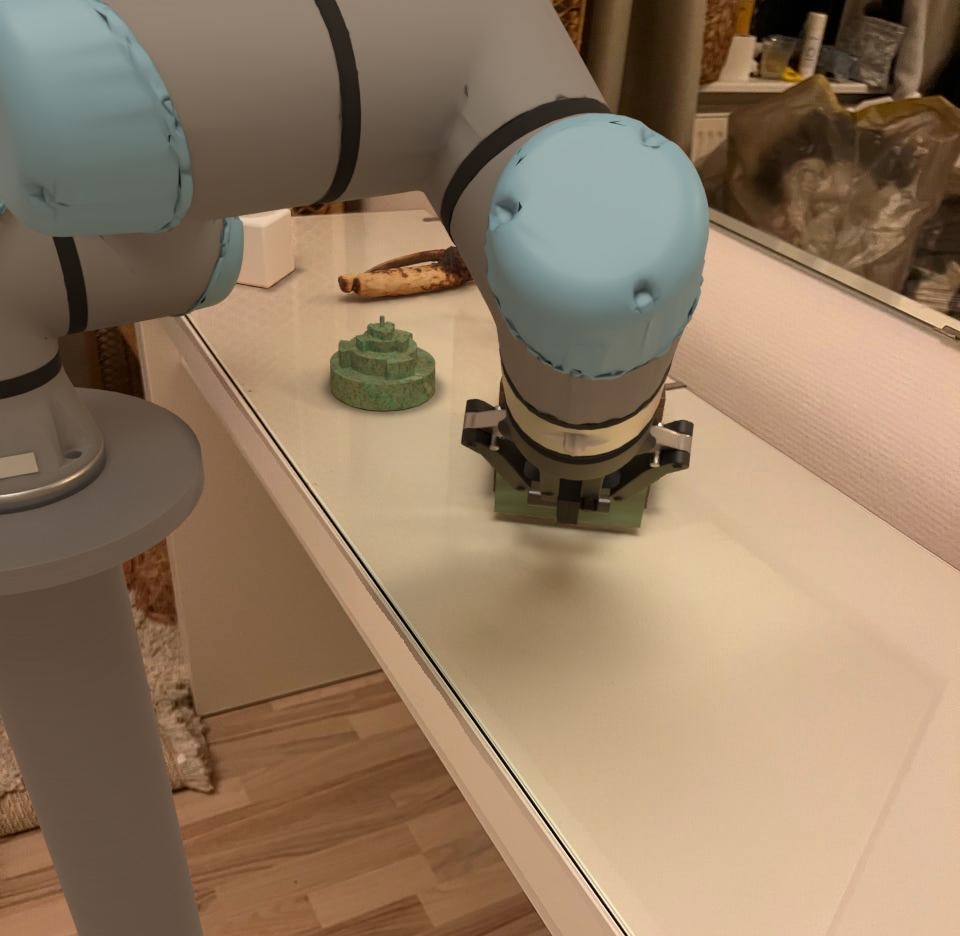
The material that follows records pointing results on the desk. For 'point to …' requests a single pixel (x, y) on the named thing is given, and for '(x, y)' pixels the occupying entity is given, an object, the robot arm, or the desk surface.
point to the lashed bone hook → (409, 275)
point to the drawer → (607, 511)
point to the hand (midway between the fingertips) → (568, 505)
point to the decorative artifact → (382, 370)
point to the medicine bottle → (266, 248)
